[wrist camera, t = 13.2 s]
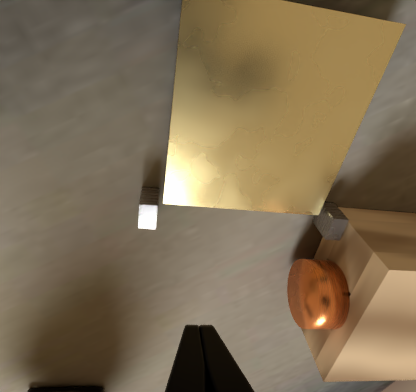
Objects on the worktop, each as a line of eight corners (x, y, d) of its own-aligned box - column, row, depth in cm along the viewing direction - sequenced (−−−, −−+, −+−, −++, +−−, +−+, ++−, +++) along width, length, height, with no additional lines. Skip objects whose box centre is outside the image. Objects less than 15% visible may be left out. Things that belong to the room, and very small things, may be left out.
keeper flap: (313, 207, 21) (318, 215, 20) (163, 196, 19) (162, 203, 18) (395, 22, 15) (405, 24, 14) (184, -20, 13) (184, -19, 12)
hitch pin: (431, 295, 25) (476, 344, 22) (282, 291, 23) (303, 344, 20) (460, 254, 23) (516, 300, 20) (299, 245, 21) (327, 295, 17)
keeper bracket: (326, 222, 21) (339, 240, 20) (140, 209, 19) (137, 228, 18) (334, 202, 21) (348, 219, 19) (142, 187, 19) (139, 204, 17)
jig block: (368, 309, 27) (415, 379, 22) (293, 308, 26) (323, 381, 21) (425, 214, 22) (502, 275, 17) (335, 206, 21) (389, 270, 16)
